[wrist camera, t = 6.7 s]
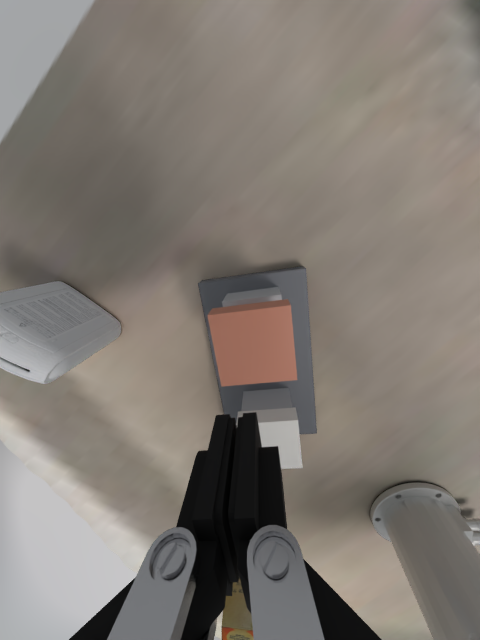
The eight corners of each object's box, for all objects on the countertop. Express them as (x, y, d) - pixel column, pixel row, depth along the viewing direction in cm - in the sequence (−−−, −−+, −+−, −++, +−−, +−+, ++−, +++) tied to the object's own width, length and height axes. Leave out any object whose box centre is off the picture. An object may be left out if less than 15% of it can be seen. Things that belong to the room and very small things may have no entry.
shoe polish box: (231, 542, 44) (221, 646, 33) (232, 523, 43) (221, 626, 31) (259, 544, 44) (258, 651, 32) (260, 525, 42) (260, 631, 31)
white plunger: (291, 386, 31) (298, 420, 25) (295, 428, 33) (302, 468, 27) (240, 390, 31) (236, 424, 26) (247, 431, 33) (244, 470, 28)
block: (302, 266, 28) (313, 273, 23) (313, 422, 35) (324, 458, 29) (202, 280, 30) (188, 290, 24) (230, 428, 36) (225, 463, 31)
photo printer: (46, 300, 32) (-77, 336, 20) (58, 274, 31) (-65, 296, 19) (113, 346, 34) (34, 403, 22) (128, 323, 32) (53, 370, 21)
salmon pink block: (283, 289, 24) (290, 305, 18) (289, 349, 26) (297, 380, 20) (219, 297, 25) (207, 315, 19) (229, 355, 27) (221, 386, 21)
